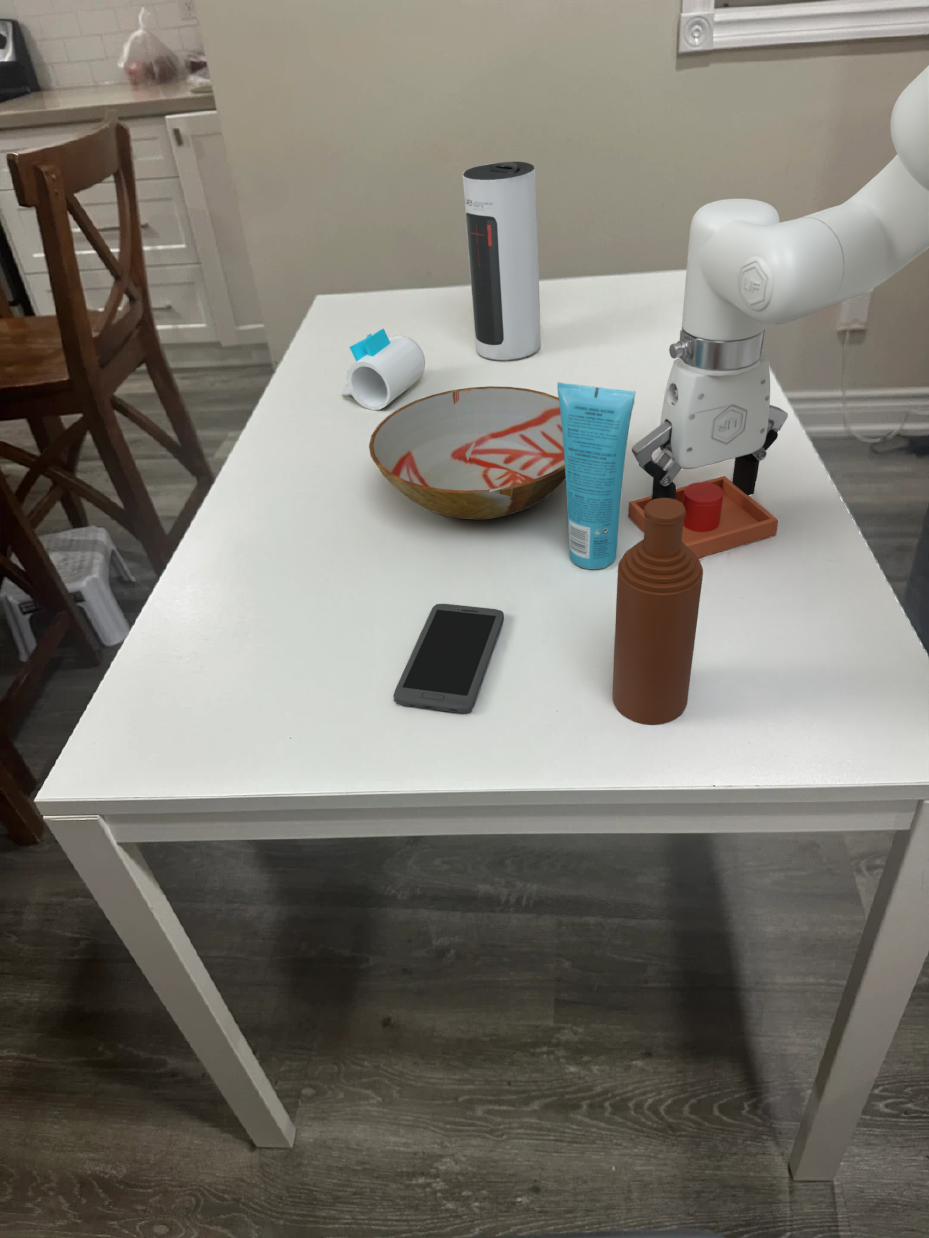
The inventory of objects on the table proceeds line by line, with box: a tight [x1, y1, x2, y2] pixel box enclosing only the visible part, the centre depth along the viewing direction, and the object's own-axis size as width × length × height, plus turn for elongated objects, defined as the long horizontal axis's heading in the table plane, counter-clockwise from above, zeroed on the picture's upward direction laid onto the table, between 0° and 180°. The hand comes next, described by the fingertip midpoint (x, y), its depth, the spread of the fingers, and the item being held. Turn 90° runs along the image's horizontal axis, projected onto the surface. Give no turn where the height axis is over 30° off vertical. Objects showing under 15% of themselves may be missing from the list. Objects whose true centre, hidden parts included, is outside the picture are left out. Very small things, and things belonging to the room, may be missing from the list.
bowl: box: [368, 385, 566, 521], centre depth 101 cm, size 25×25×8 cm
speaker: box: [462, 161, 542, 362], centre depth 128 cm, size 11×10×26 cm
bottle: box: [611, 498, 704, 726], centre depth 69 cm, size 6×6×20 cm
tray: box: [627, 475, 779, 559], centre depth 94 cm, size 12×10×2 cm
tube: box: [556, 381, 636, 570], centre depth 86 cm, size 7×5×19 cm, turn 71°
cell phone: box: [393, 603, 505, 714], centre depth 81 cm, size 7×14×1 cm, turn 165°
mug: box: [341, 328, 426, 411], centre depth 126 cm, size 12×9×12 cm
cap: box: [683, 481, 723, 532], centre depth 93 cm, size 4×4×4 cm
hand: (703, 500), depth 92 cm, fingers open, 9 cm apart
